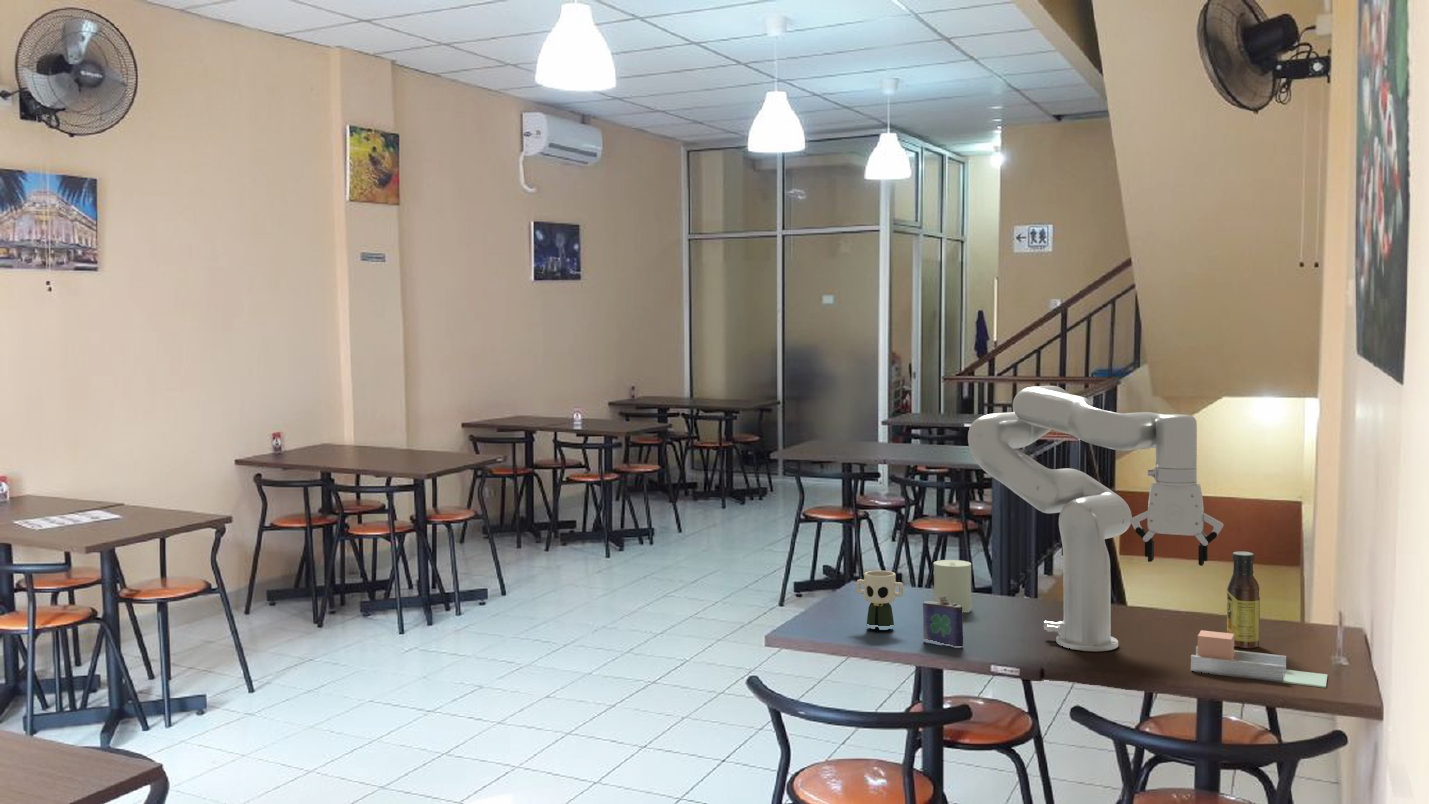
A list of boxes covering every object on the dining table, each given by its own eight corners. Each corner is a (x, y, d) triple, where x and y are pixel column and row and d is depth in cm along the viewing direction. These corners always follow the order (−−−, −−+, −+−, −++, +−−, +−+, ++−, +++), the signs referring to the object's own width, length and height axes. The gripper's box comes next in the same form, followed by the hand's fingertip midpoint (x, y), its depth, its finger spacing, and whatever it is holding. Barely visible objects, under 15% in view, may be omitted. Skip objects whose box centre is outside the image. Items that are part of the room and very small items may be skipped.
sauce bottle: (1231, 640, 236) (1231, 548, 235) (1263, 644, 232) (1263, 551, 231) (1223, 646, 231) (1223, 553, 230) (1255, 651, 227) (1255, 556, 226)
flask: (921, 642, 238) (920, 593, 238) (927, 640, 240) (927, 591, 240) (959, 649, 232) (959, 599, 232) (966, 646, 234) (966, 597, 234)
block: (1197, 666, 214) (1197, 635, 214) (1201, 660, 219) (1201, 630, 219) (1231, 670, 211) (1231, 639, 211) (1234, 663, 216) (1234, 633, 215)
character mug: (852, 631, 249) (852, 574, 249) (862, 624, 256) (861, 568, 255) (899, 635, 245) (898, 577, 244) (907, 628, 251) (907, 572, 251)
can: (934, 613, 265) (933, 564, 265) (933, 605, 274) (932, 557, 274) (973, 614, 264) (972, 564, 263) (970, 605, 273) (970, 558, 273)
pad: (1283, 682, 205) (1283, 681, 205) (1286, 671, 213) (1286, 669, 213) (1325, 687, 202) (1325, 686, 202) (1327, 675, 209) (1327, 674, 209)
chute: (1190, 671, 213) (1190, 656, 213) (1196, 660, 221) (1196, 645, 221) (1283, 682, 205) (1283, 666, 205) (1286, 671, 213) (1286, 655, 213)
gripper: (1126, 476, 219) (1126, 562, 219) (1221, 480, 210) (1221, 569, 211) (1133, 473, 225) (1133, 556, 226) (1225, 476, 217) (1225, 563, 217)
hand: (1175, 562), depth 218 cm, fingers open, 9 cm apart
